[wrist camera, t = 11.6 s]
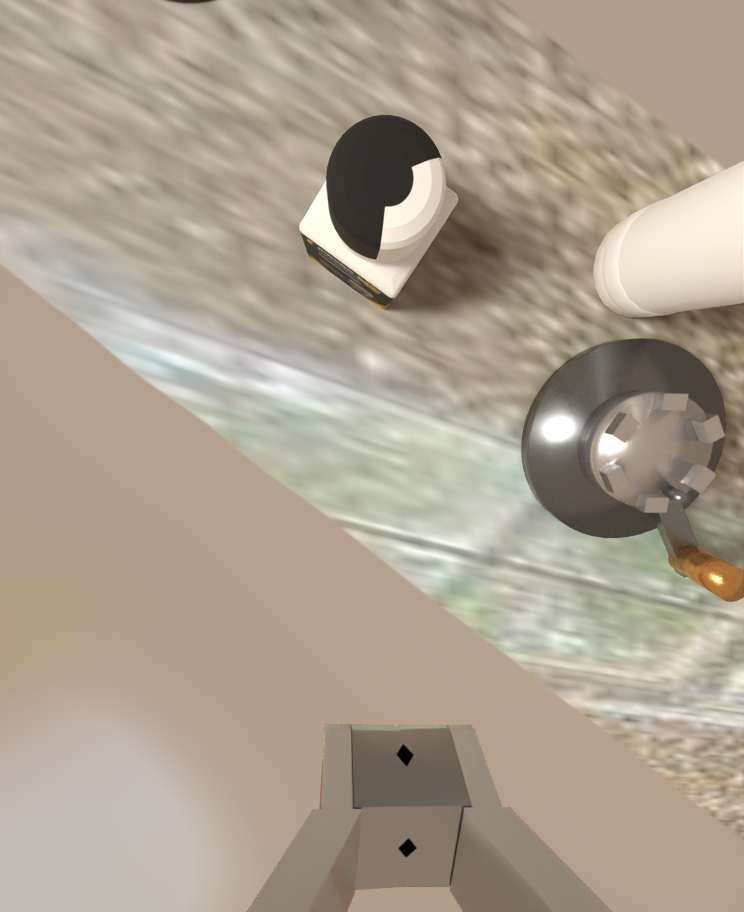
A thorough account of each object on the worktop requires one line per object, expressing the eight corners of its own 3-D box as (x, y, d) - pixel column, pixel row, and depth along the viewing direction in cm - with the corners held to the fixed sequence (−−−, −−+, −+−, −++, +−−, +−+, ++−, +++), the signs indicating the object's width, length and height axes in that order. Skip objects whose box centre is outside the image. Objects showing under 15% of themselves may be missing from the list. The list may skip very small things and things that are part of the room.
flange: (542, 327, 34) (553, 326, 33) (734, 351, 36) (753, 351, 34) (505, 523, 38) (512, 531, 37) (680, 538, 40) (695, 546, 38)
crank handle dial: (561, 424, 35) (607, 438, 29) (661, 369, 34) (730, 371, 28) (631, 584, 38) (685, 626, 32) (723, 537, 38) (794, 571, 32)
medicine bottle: (306, 255, 32) (285, 197, 20) (358, 169, 31) (368, 56, 19) (383, 311, 33) (405, 287, 22) (436, 230, 32) (489, 159, 21)
